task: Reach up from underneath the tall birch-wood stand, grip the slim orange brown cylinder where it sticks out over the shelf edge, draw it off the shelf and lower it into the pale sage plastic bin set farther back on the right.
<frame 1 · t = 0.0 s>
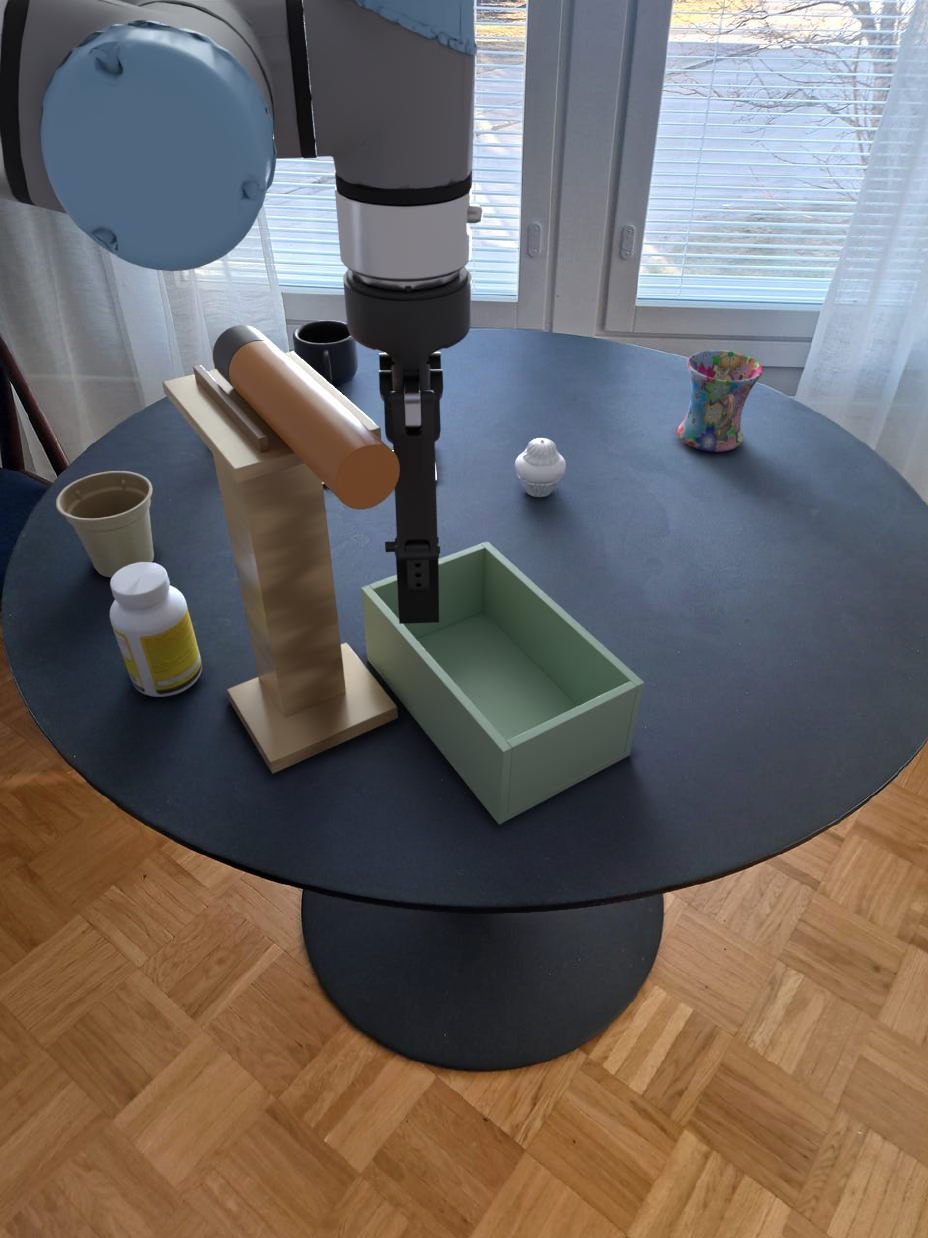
hand: (416, 560, 64), 19 cm above the table, tool pointing down, fingers open, 13 cm apart
stand: (312, 709, 78), on the table
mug: (710, 446, 116), on the table
dark grey pillar: (240, 436, 116), on the table
mug 2: (329, 384, 128), on the table
pill bottle: (168, 677, 82), on the table
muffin: (538, 491, 107), on the table
orange brown cylinder: (310, 447, 54), point 30 cm above the table, touching stand
bin: (491, 704, 79), on the table
flower pot: (125, 562, 95), on the table
smartphone: (372, 469, 110), on the table
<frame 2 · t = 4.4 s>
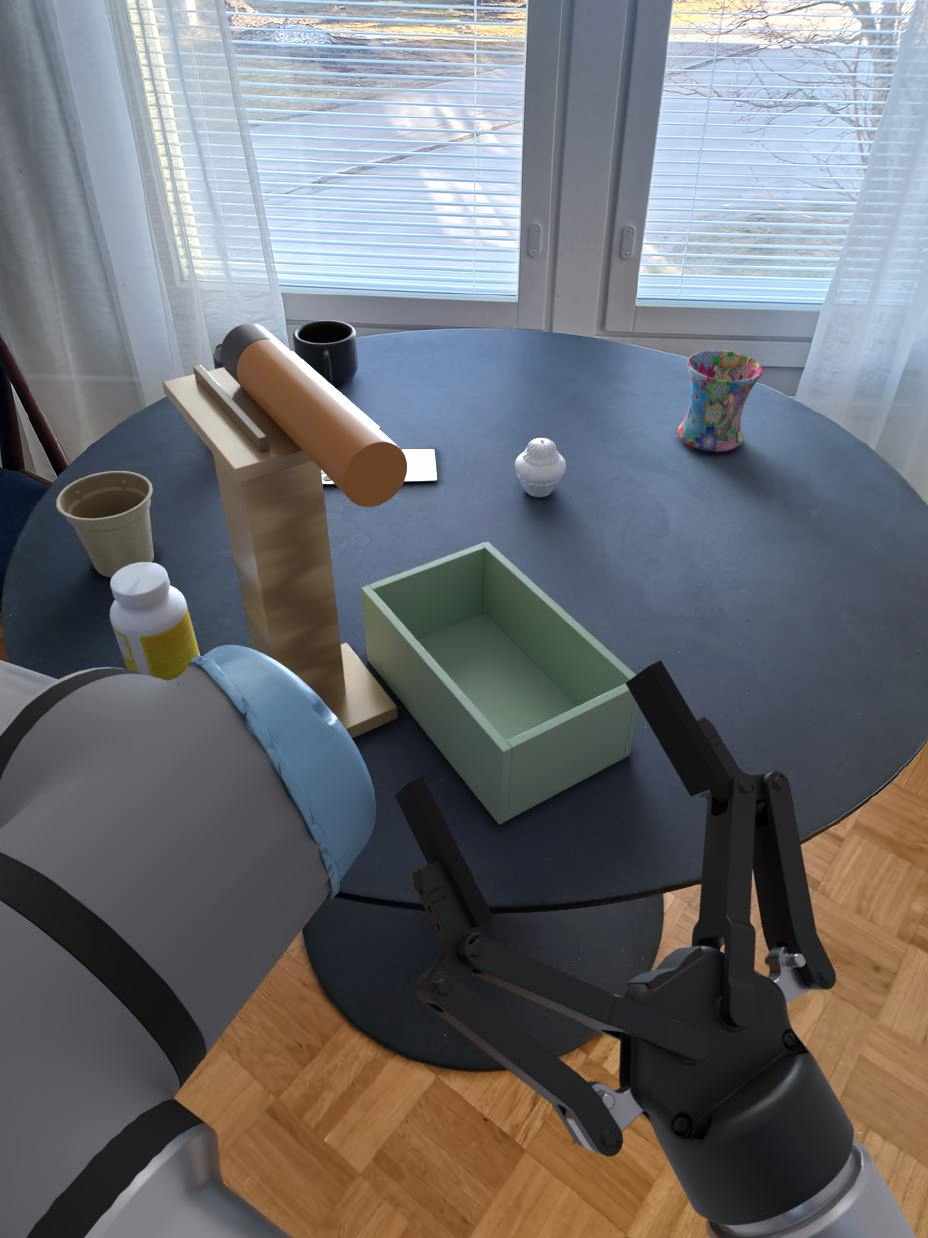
hand: (532, 724, 41), 27 cm above the table, tool pointing upward, fingers open, 13 cm apart
orange brown cylinder: (310, 446, 54), point 30 cm above the table, tilted 16°, touching stand
everything else where it was.
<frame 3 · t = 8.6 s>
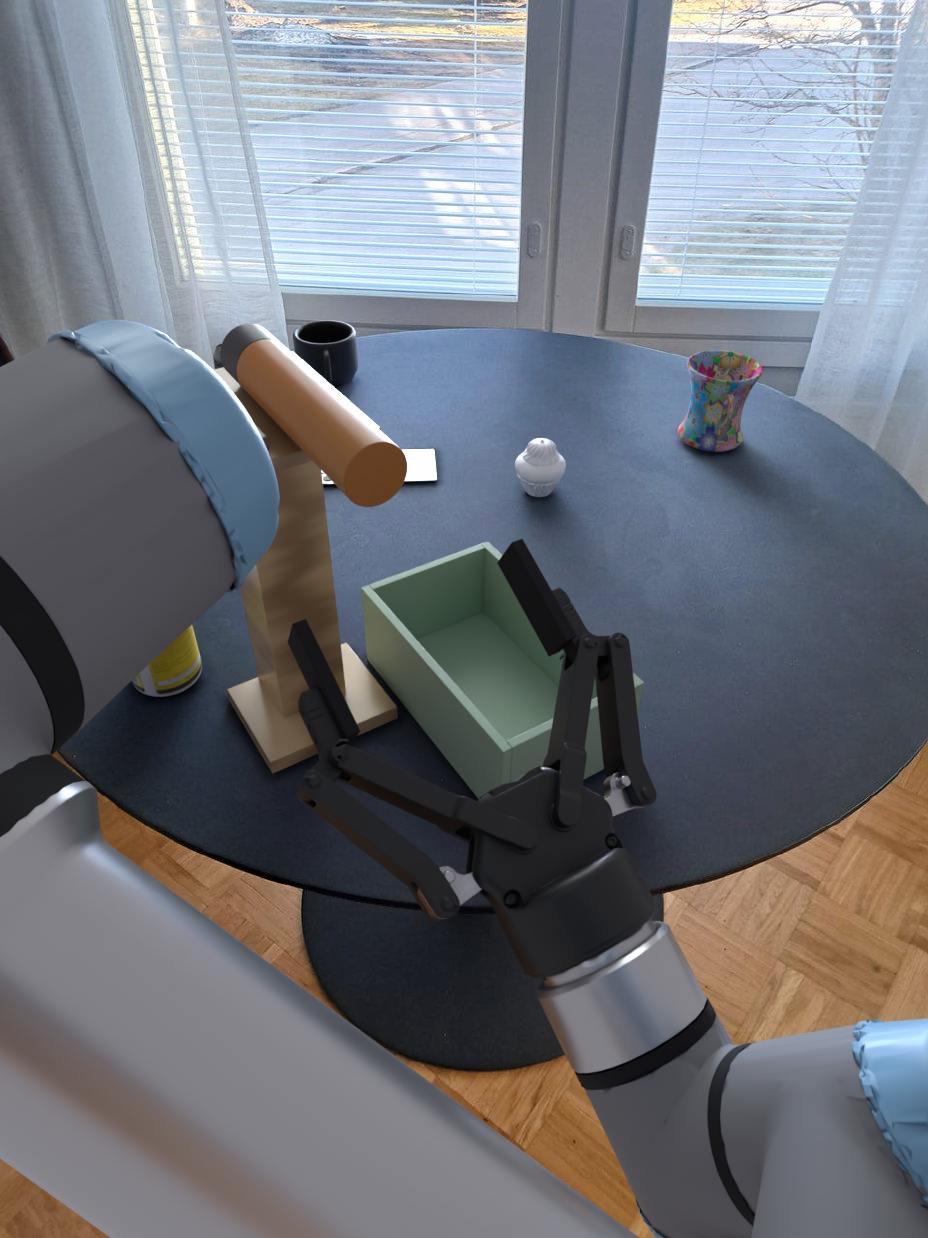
hand: (408, 587, 49), 27 cm above the table, tool pointing upward, fingers open, 13 cm apart
nothing on the table moved.
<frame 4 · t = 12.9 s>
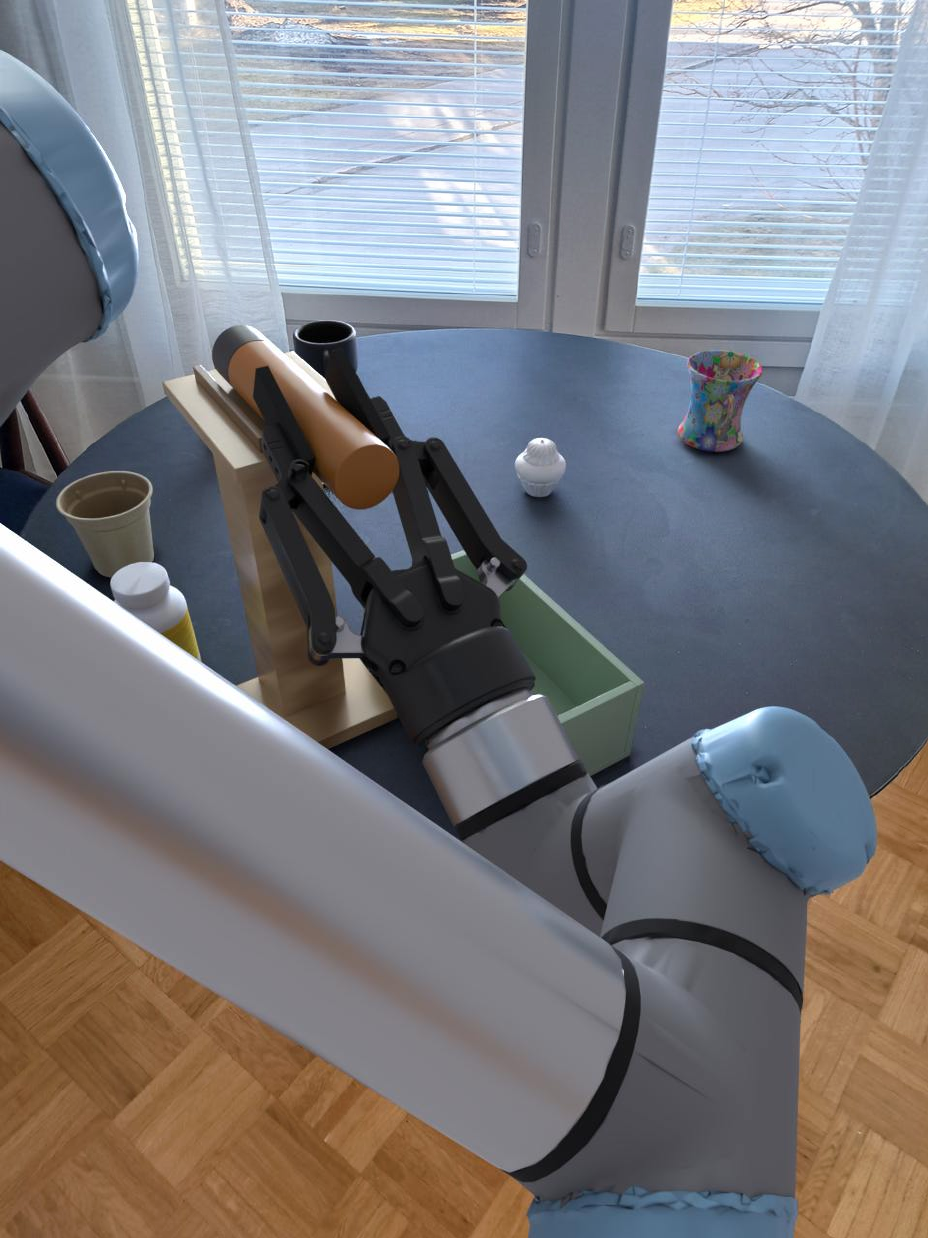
hand: (297, 373, 52), 35 cm above the table, tool pointing upward, fingers closed on orange brown cylinder, 4 cm apart
orange brown cylinder: (309, 447, 54), point 30 cm above the table, touching gripper, stand
everything else where it was.
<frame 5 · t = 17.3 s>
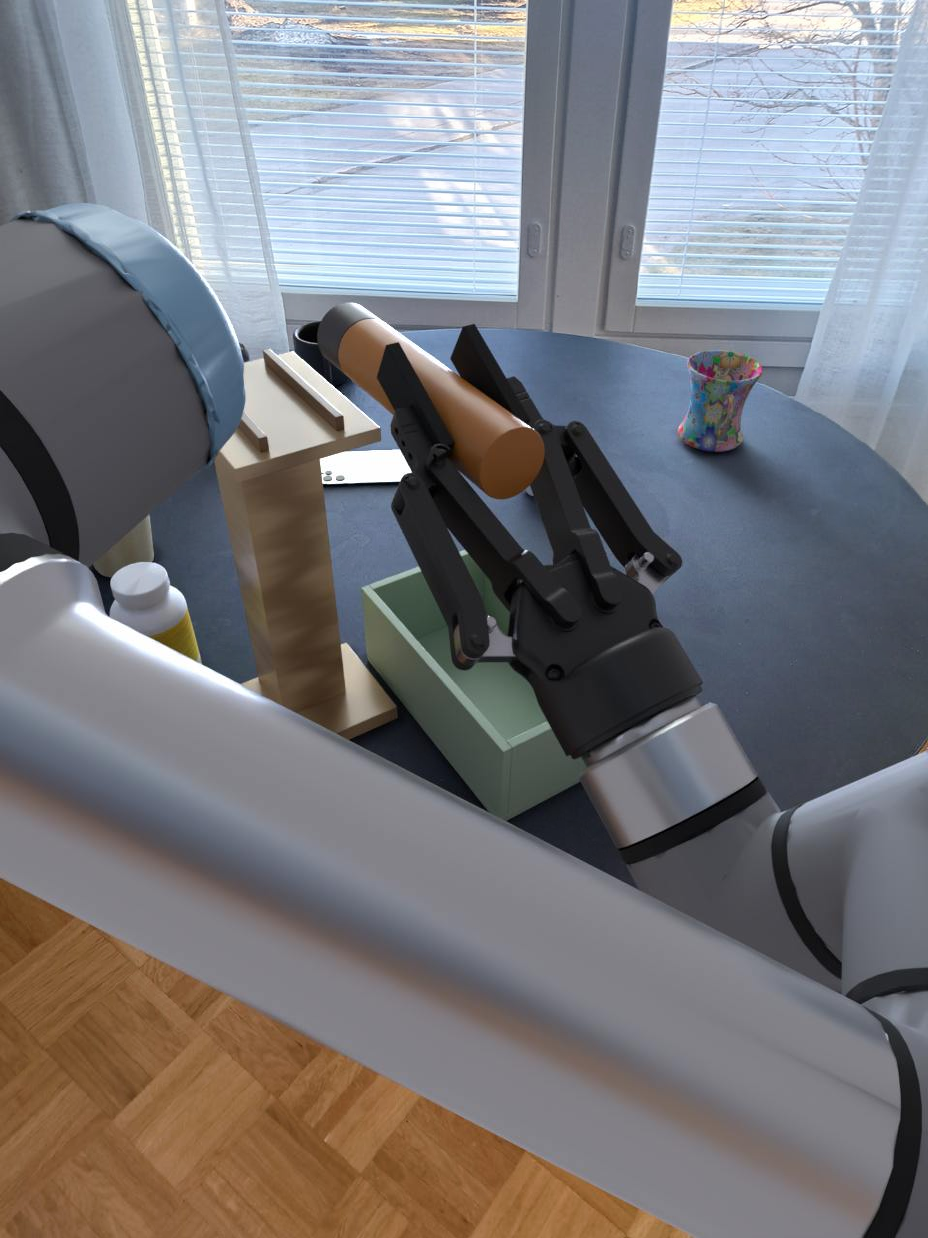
hand: (425, 351, 48), 38 cm above the table, tool pointing upward, fingers closed on orange brown cylinder, 4 cm apart
orange brown cylinder: (431, 433, 50), point 33 cm above the table, touching gripper
everything else where it was.
when the fingers open (26 cm above the table, at t = 22.1 s): orange brown cylinder drops 20 cm, resting on bin.
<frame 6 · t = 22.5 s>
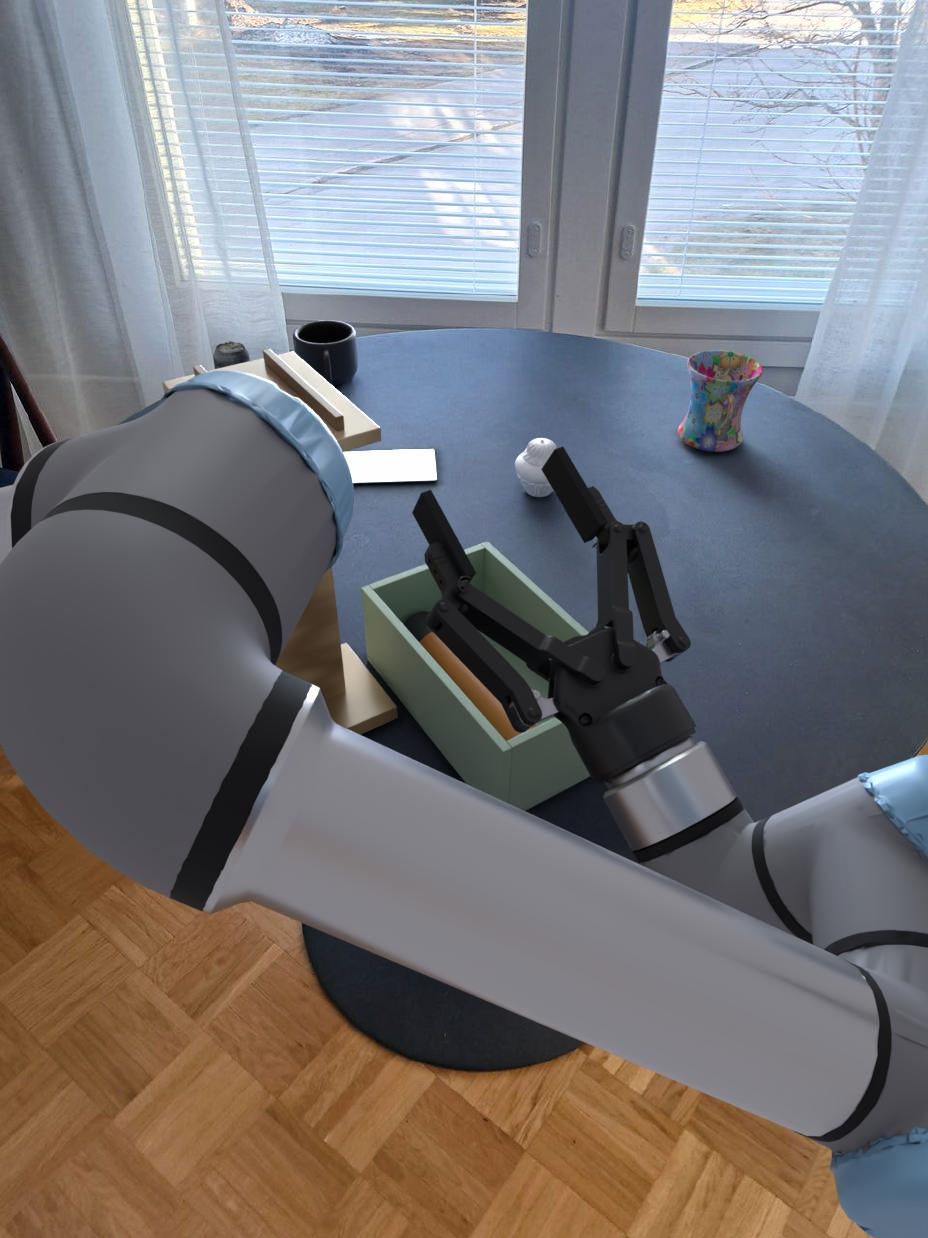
hand: (489, 478, 61), 25 cm above the table, tool pointing upward, fingers open, 10 cm apart
orange brown cylinder: (479, 715, 77), point 1 cm above the table, touching bin
everything else where it was.
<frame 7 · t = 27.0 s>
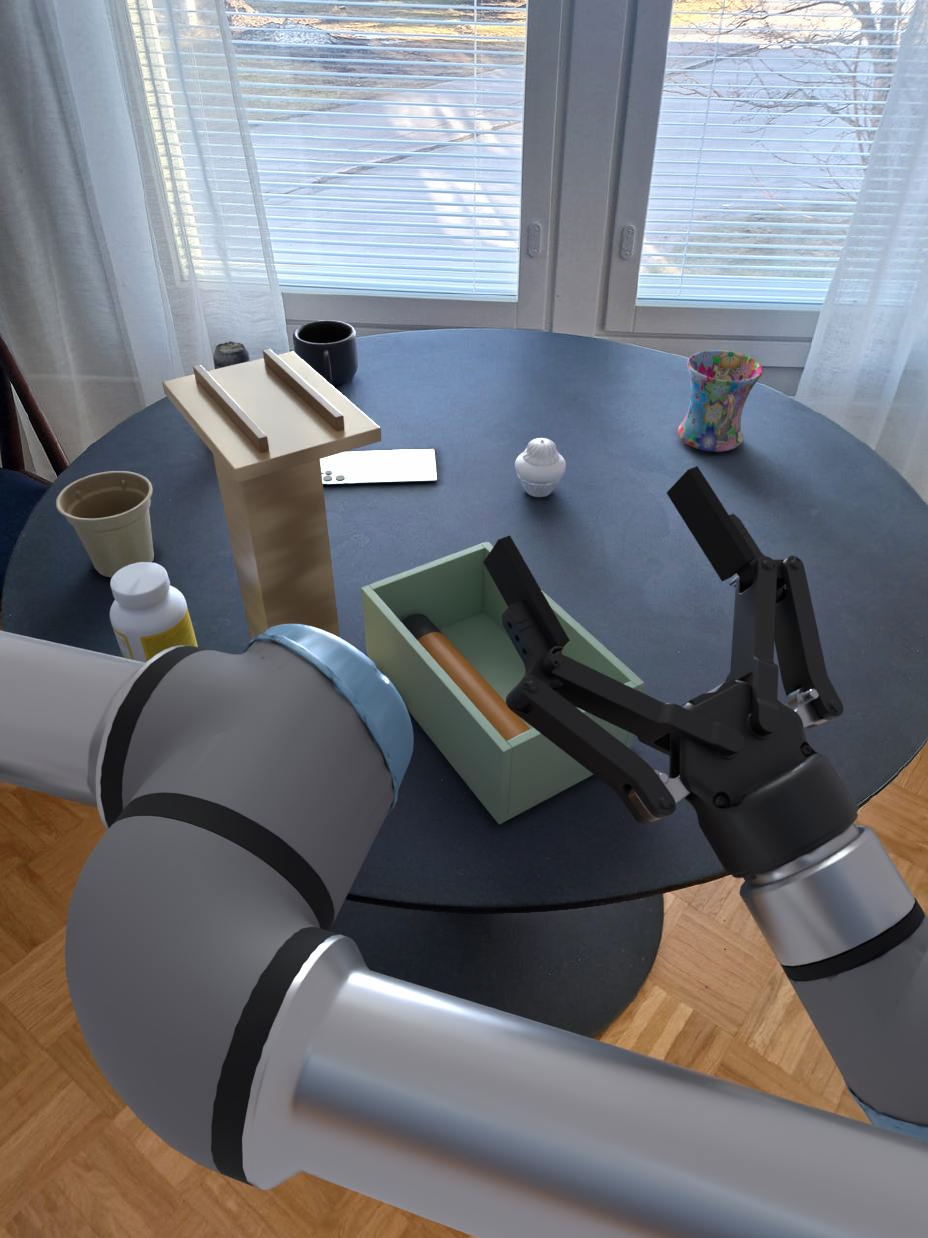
hand: (593, 511, 50), 30 cm above the table, tool pointing upward, fingers open, 13 cm apart
orange brown cylinder: (479, 715, 77), point 1 cm above the table, tilted 16°, touching bin
everything else where it was.
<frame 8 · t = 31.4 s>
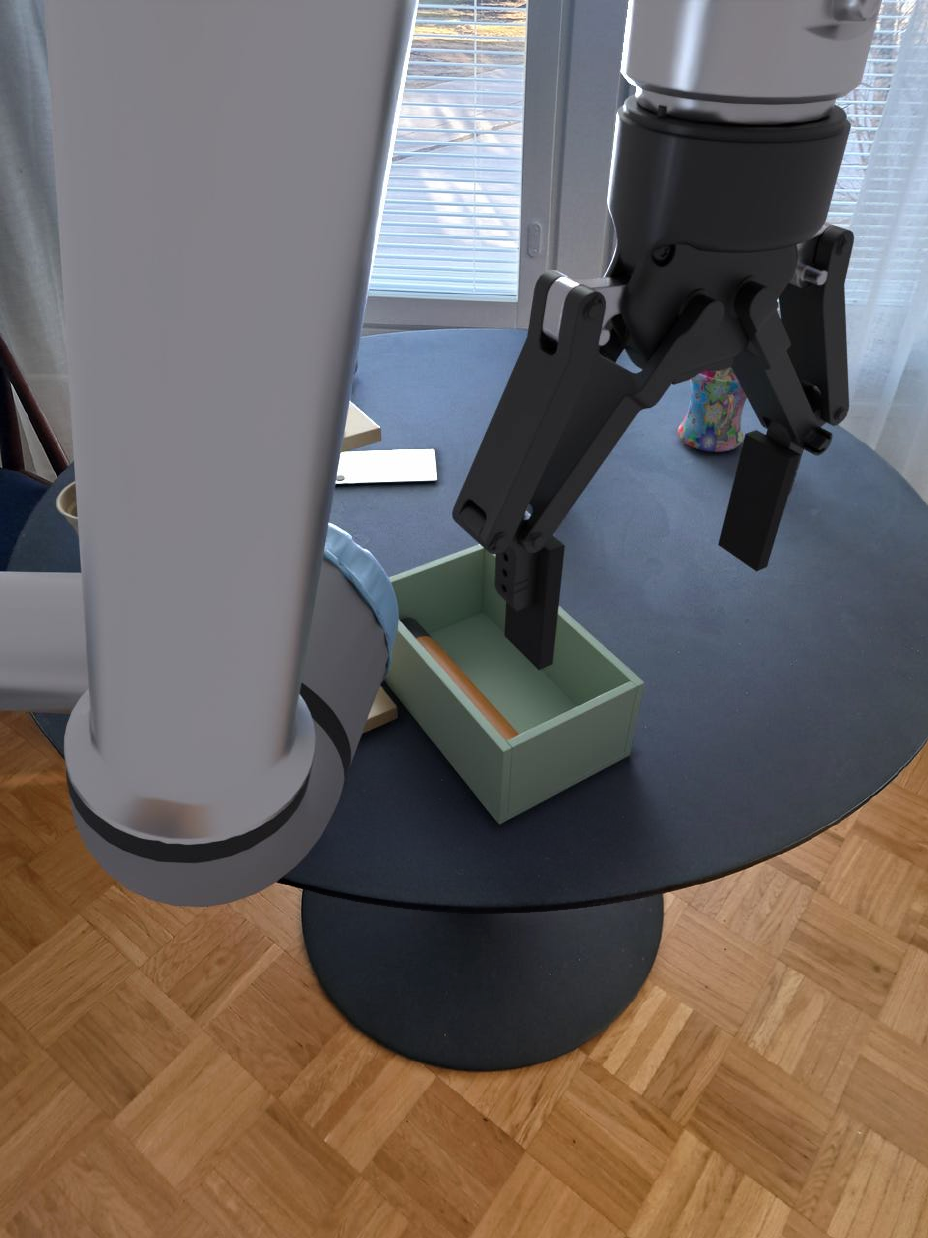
hand: (642, 600, 42), 31 cm above the table, tool pointing down, fingers open, 13 cm apart
orange brown cylinder: (477, 711, 76), point 1 cm above the table, tilted 48°, touching bin
everything else where it was.
at the end: orange brown cylinder inside the target area in the bin (2.6 cm from its centre), point 1.5 cm above the bin's base; the gripper is holding nothing; orange brown cylinder touching bin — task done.
